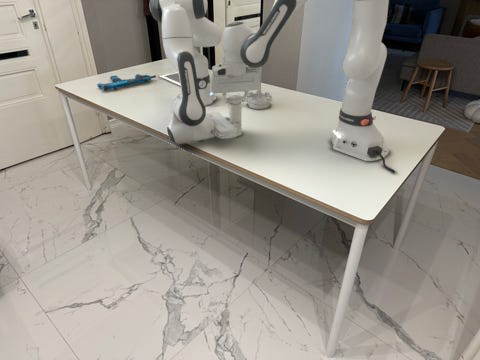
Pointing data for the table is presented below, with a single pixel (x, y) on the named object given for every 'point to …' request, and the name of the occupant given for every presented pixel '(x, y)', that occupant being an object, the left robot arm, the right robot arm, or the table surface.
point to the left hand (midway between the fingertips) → (237, 121)
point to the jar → (235, 115)
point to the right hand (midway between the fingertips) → (235, 101)
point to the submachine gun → (124, 82)
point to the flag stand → (259, 98)
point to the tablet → (172, 78)
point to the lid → (235, 99)
